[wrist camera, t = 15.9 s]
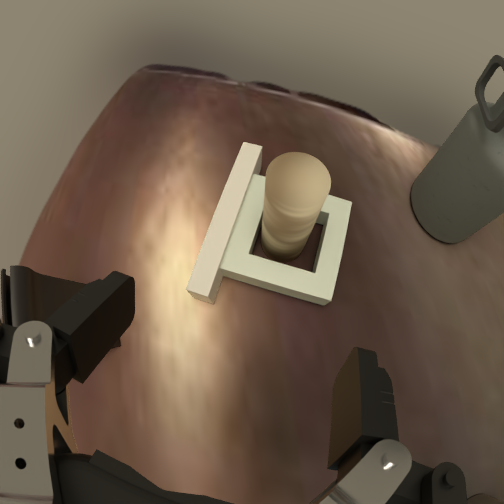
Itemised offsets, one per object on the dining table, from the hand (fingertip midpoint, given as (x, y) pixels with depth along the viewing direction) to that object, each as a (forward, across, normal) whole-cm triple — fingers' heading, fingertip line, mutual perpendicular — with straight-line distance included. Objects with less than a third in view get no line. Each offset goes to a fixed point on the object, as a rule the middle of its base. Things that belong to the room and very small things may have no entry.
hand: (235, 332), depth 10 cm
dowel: (+21, 0, +6) cm, 22 cm away
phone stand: (+10, +17, +16) cm, 26 cm away
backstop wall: (+21, +5, +6) cm, 22 cm away
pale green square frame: (+21, -1, +6) cm, 22 cm away
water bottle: (+29, -18, -2) cm, 34 cm away
